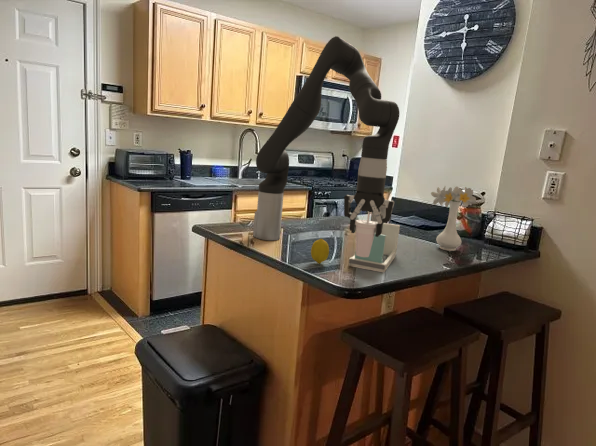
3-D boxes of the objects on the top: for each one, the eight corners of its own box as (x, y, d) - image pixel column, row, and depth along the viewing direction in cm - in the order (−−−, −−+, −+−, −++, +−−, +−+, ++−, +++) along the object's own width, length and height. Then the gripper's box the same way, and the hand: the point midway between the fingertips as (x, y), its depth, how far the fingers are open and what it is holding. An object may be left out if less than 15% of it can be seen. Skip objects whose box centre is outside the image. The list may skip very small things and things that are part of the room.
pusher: (354, 262, 133) (357, 231, 131) (354, 261, 134) (358, 230, 132) (380, 267, 130) (385, 235, 128) (381, 266, 131) (385, 235, 129)
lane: (348, 266, 132) (352, 231, 130) (364, 250, 154) (368, 220, 152) (383, 272, 129) (388, 237, 126) (395, 256, 150) (399, 225, 148)
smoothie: (359, 259, 117) (366, 208, 114) (346, 252, 123) (352, 204, 120) (378, 258, 120) (384, 209, 117) (364, 251, 126) (370, 204, 123)
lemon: (322, 267, 128) (324, 241, 127) (306, 263, 131) (308, 238, 129) (330, 264, 133) (333, 239, 131) (315, 260, 136) (317, 235, 134)
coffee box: (384, 248, 160) (390, 205, 157) (367, 245, 161) (372, 203, 158) (384, 242, 169) (390, 202, 166) (368, 240, 170) (373, 200, 167)
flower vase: (435, 241, 180) (444, 182, 175) (475, 253, 165) (487, 189, 161) (415, 244, 172) (425, 182, 167) (456, 256, 158) (468, 189, 153)
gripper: (400, 177, 118) (392, 236, 121) (349, 171, 123) (343, 228, 126) (396, 178, 111) (388, 241, 114) (343, 172, 116) (336, 232, 119)
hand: (365, 234), depth 120 cm, fingers closed on smoothie, 6 cm apart
